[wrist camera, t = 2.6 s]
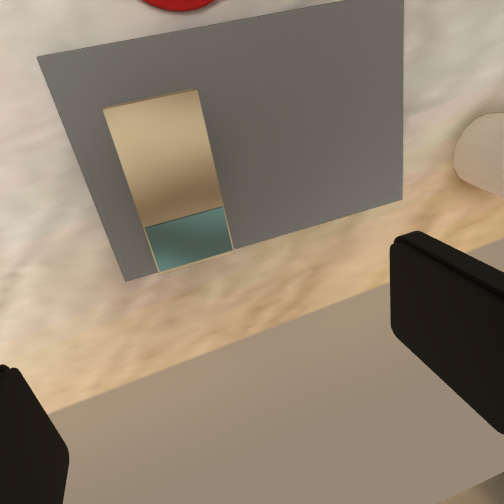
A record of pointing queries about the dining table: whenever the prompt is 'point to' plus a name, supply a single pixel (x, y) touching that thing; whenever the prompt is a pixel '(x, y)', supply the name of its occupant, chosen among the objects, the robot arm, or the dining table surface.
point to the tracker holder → (179, 4)
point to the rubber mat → (252, 116)
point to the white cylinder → (482, 153)
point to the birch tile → (172, 177)
